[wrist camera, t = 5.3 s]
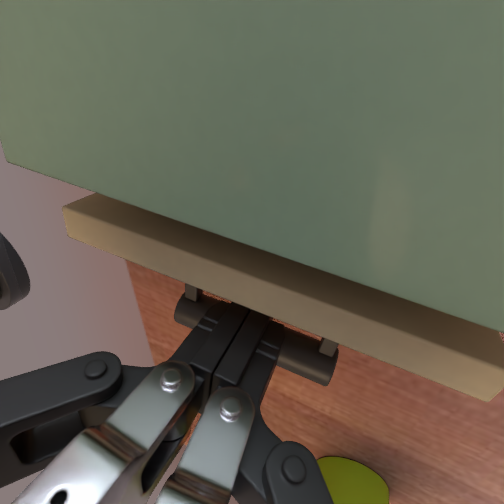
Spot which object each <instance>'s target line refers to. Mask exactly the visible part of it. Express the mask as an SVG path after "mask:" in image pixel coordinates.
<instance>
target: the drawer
mask: <svg viewBox="0 0 504 504" xmlns="http://www.w3.org/2000/svg"><path fill="white" fill-rule="evenodd" d="M62 211H63V215H64V220H65V225H66V229H67V234H68V236H69V237H70V238H73V239H75V240H78V241H81V242H83V243H85V244H88V245H91V246H93V247H95V248H98V249H101V250H103V251H106V252H108V253H111V254H113V255H116V256H118V257H121V258H123V259H126V260H128V261H131V262H133V263H136V264H138V265H141V266H144V267H146V268H149V269H151V270H154V271H156V272H159V273H161V274H164V275H166V276H169V277H171V278H174V279H176V280H179V281H181V282H184V283H185V292H184V294H183V295H182V296H181V298H180V299H179V301H178V303H177V306H176V309H175V313H174V319H175V321H176V322H177V323H180V324H182V325H184V326H187V327H189V328H191V329H193V328H194V327H195V326H196V325H197V323H198V322H199V321H200V319H201V318H203V316H204V314H205V313H206V312H207V310H208V309H209V308H210V307H211V306H212V305H214V304H216V303H218V302H219V300H217V299H214V298H212V297H209V296H207V295H204V294H203V290H204V291H207V292H209V293H212V294H214V295H217V296H219V297H222V298H224V299H227V300H229V301H232V302H235V303H237V304H240V305H242V306H245V307H247V308H250V309H252V310H255V311H257V312H260V313H262V314H265V315H267V316H270V317H272V318H275V319H277V320H280V321H283V322H285V323H288V324H290V325H293V326H295V327H298V328H300V329H303V330H305V331H308V332H310V333H313V334H315V335H318V336H320V337H322V339H321V341H320V340H317V339H315V338H312V337H310V336H307V335H305V334H302V333H300V332H297V331H295V330H292V329H290V328H287V327H285V326H284V332H285V339H284V342H283V345H282V349H281V352H280V355H279V358H278V361H277V364H276V365H277V366H279V367H282V368H284V369H286V370H289V371H291V372H293V373H295V374H298V375H300V376H302V377H305V378H307V379H309V380H312V381H314V382H316V383H319V384H321V385H323V386H327V385H328V384H329V382H330V380H331V378H332V375H333V372H334V369H335V366H336V363H337V358H338V353H339V350H338V348H337V347H338V345H339V344H341V345H343V346H346V347H348V348H351V349H353V350H356V351H358V352H361V353H363V354H366V355H368V356H371V357H374V358H376V359H379V360H381V361H384V362H386V363H389V364H391V365H394V366H396V367H399V368H401V369H404V370H406V371H409V372H411V373H414V374H416V375H419V376H422V377H424V378H427V379H429V380H432V381H434V382H437V383H439V384H442V385H444V386H447V387H449V388H452V389H454V390H457V391H459V392H462V393H465V394H467V395H470V396H472V397H475V398H477V399H480V400H482V401H485V402H489V401H490V400H491V399H492V398H493V397H495V396H496V395H497V394H498V393H499V392H500V391H501V390H502V389H503V388H504V343H503V341H502V338H501V336H500V334H499V331H496V330H493V329H490V328H487V327H484V326H481V325H478V324H475V323H473V322H470V321H467V320H464V319H461V318H458V317H455V316H452V315H449V314H446V313H444V312H441V311H438V310H435V309H432V308H429V307H426V306H423V305H420V304H417V303H415V302H412V301H409V300H406V299H403V298H400V297H397V296H394V295H391V294H388V293H386V292H383V291H380V290H377V289H374V288H371V287H368V286H365V285H362V284H359V283H357V282H354V281H351V280H348V279H345V278H342V277H339V276H336V275H333V274H331V273H328V272H325V271H322V270H319V269H316V268H313V267H310V266H307V265H304V264H302V263H299V262H296V261H293V260H290V259H287V258H284V257H281V256H278V255H275V254H273V253H270V252H267V251H264V250H261V249H258V248H255V247H252V246H249V245H246V244H244V243H241V242H238V241H235V240H232V239H229V238H226V237H223V236H220V235H217V234H215V233H212V232H209V231H206V230H203V229H200V228H197V227H194V226H191V225H188V224H186V223H183V222H180V221H177V220H174V219H171V218H168V217H165V216H162V215H159V214H157V213H154V212H151V211H148V210H145V209H142V208H139V207H136V206H133V205H130V204H128V203H125V202H122V201H119V200H116V199H113V198H110V197H107V196H104V195H101V194H99V193H94V194H92V195H89V196H87V197H84V198H82V199H80V200H77V201H75V202H72V203H70V204H68V205H65V206H63V207H62Z"/></svg>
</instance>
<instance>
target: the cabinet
mask: <svg viewBox="0 0 504 504" xmlns="http://www.w3.org/2000/svg"><path fill="white" fill-rule="evenodd" d="M0 141H1V144H2V147H3V150H4V154H5V158H6V160H7V162H9V163H12V164H14V165H17V166H20V167H23V168H26V169H29V170H32V171H35V172H38V173H41V174H44V175H47V176H49V177H52V178H55V179H58V180H61V181H64V182H67V183H70V184H72V185H75V186H79V187H81V188H85V189H87V190H90V191H93V192H96V193H99V194H101V195H104V196H107V197H110V198H113V199H116V200H119V201H122V202H125V203H128V204H130V205H133V206H136V207H139V208H142V209H145V210H148V211H151V212H154V213H157V214H159V215H162V216H165V217H168V218H171V219H174V220H177V221H180V222H183V223H186V224H188V225H191V226H194V227H197V228H200V229H203V230H206V231H209V232H212V233H215V234H217V235H220V236H223V237H226V238H229V239H232V240H235V241H238V242H241V243H244V244H246V245H249V246H252V247H255V248H258V249H261V250H264V251H267V252H270V253H273V254H275V255H278V256H281V257H284V258H287V259H290V260H293V261H296V262H299V263H302V264H304V265H307V266H310V267H313V268H316V269H319V270H322V271H325V272H328V273H331V274H333V275H336V276H339V277H342V278H345V279H348V280H351V281H354V282H357V283H359V284H362V285H365V286H368V287H371V288H374V289H377V290H380V291H383V292H386V293H388V294H391V295H394V296H397V297H400V298H403V299H406V300H409V301H412V302H415V303H417V304H420V305H423V306H426V307H429V308H432V309H435V310H438V311H441V312H444V313H446V314H449V315H452V316H455V317H458V318H461V319H464V320H467V321H470V322H473V323H475V324H478V325H481V326H484V327H487V328H490V329H493V330H496V331H499V332H502V333H504V0H0Z"/></svg>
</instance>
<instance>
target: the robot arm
mask: <svg viewBox="0 0 504 504" xmlns="http://www.w3.org/2000/svg"><path fill="white" fill-rule="evenodd" d="M0 298H1V288H0ZM272 320H273V318H272V317H270V316H267V315H265V314H262V313H260V312H257V311H255V310H252V309H250V308H247V307H245V306H242V305H240V304H237V303H235V302H231V304H230V303H227V302H225V301H222V300H221V301H219V302H218V303H216V304H214V305H212V306H211V307H210V308H209V309H208V310H207V312H206V313H205V314H204V316H203V318H201V319H200V321H199V322H198V323H197V325H196V326H195V327H194V328H193V330H192V331H191V332H190V334H189V335H188V336H187V338H186V339H185V340H184V341H183V343H182V344H181V345H180V347H179V348H178V349H177V350H176V352H175V353H174V354H173V356H172V357H171V358H170V359H168V360H167V361H165V362H162V363H160V364H159V365H157V366H153V367H135V366H128V365H121V361H120V359H119V358H118V357H117V356H116V355H115V354H113V353H110V352H104V351H101V352H95V353H91V354H87V355H84V356H81V357H77V358H74V359H71V360H68V361H64V362H61V363H58V364H54V365H51V366H47V367H44V368H41V369H38V370H34V371H31V372H28V373H24V374H21V375H18V376H14V377H11V378H8V379H4V380H1V381H0V488H2V487H4V486H6V485H8V484H11V483H13V482H15V481H18V480H20V479H22V478H24V477H27V476H29V475H31V474H33V473H36V472H38V471H40V470H43V469H44V470H43V471H42V472H41V473H40V474H39V475H38V476H37V477H36V478H35V479H34V480H33V481H32V483H30V485H28V486H27V488H26V489H25V490H24V491H23V492H22V493H21V494H20V495H19V496H18V497H17V498H16V499H15V500H14V501H13V502H12V503H11V504H147V501H148V499H149V497H150V496H151V494H152V492H153V491H154V489H155V487H156V486H157V484H158V483H159V481H160V480H161V478H162V477H163V475H164V474H165V472H166V471H167V469H168V468H169V466H170V464H171V463H172V461H173V460H174V458H175V457H176V455H177V454H178V452H179V450H180V449H181V447H182V446H183V445H184V443H185V441H186V440H187V438H188V437H189V435H190V432H191V426H192V422H193V420H194V419H195V417H196V415H197V413H200V414H201V416H200V419H199V421H198V423H197V425H196V427H195V429H194V432H193V434H192V436H191V438H190V440H189V442H188V444H187V447H186V449H185V451H184V453H183V455H182V458H181V460H180V462H179V464H178V466H177V468H176V470H175V472H174V473H173V474H172V475H170V477H169V478H168V479H167V481H166V482H165V484H164V486H163V488H162V490H161V492H160V494H159V496H158V498H157V500H156V502H155V504H228V503H229V500H230V497H231V495H232V496H233V497H234V498H235V499H236V500H237V502H238V503H239V504H334V502H333V500H332V497H331V495H330V492H329V490H328V488H327V485H326V483H325V480H324V478H323V475H322V473H321V470H320V468H319V465H318V463H317V461H316V459H315V457H314V456H313V454H312V453H311V452H310V451H309V450H308V449H307V448H306V447H305V446H303V445H301V444H299V443H297V442H293V441H284V442H282V441H281V440H280V439H279V438H278V437H277V436H276V435H275V434H274V433H273V432H272V431H271V430H270V429H269V428H268V427H267V425H266V424H265V422H264V420H263V418H262V416H261V412H260V405H261V402H262V400H263V397H264V395H265V392H266V390H267V387H268V384H269V382H270V380H271V377H272V374H273V372H274V369H275V367H276V364H277V361H278V358H279V355H280V352H281V349H282V345H283V342H284V339H285V332H284V325H282V324H280V323H277V322H275V321H272Z"/></svg>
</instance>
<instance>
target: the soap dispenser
mask: <svg viewBox="0 0 504 504" xmlns="http://www.w3.org/2000/svg"><path fill="white" fill-rule="evenodd" d="M317 463H318V465H319V468H320V470H321V473H322V475H323V478H324V480H325V483H326V485H327V488H328V490H329V492H330V495H331V497H332V500H333V502H334V504H389V490H388V487H387V485H386V483H385V482H384V480H383V479H382V478H381V477H380V476H379V475H378V474H376V473H375V472H374V471H372V470H371V469H369V468H368V467H366V466H364V465H362V464H360V463H358V462H355V461H352V460H349V459H345V458H340V457H324V458H321V459H318V460H317Z"/></svg>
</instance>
